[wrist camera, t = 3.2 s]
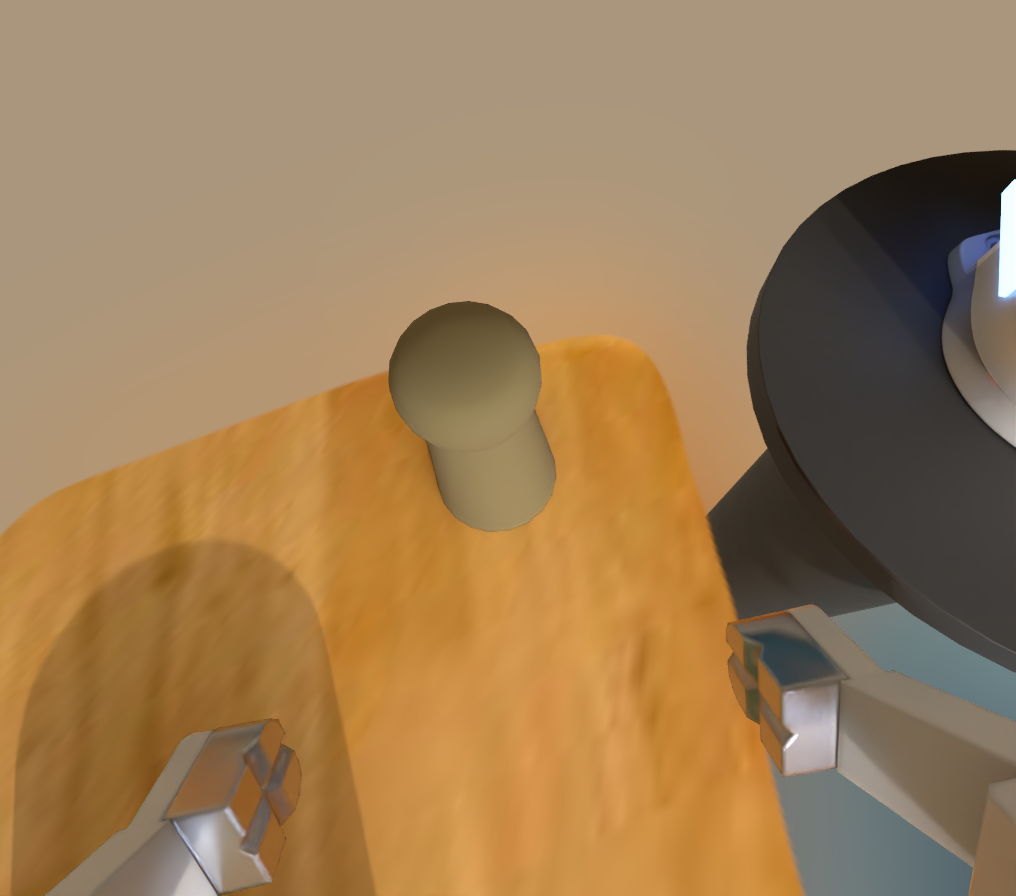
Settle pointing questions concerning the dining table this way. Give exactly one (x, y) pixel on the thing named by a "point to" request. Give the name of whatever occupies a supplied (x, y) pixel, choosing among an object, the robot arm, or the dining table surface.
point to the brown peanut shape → (476, 412)
